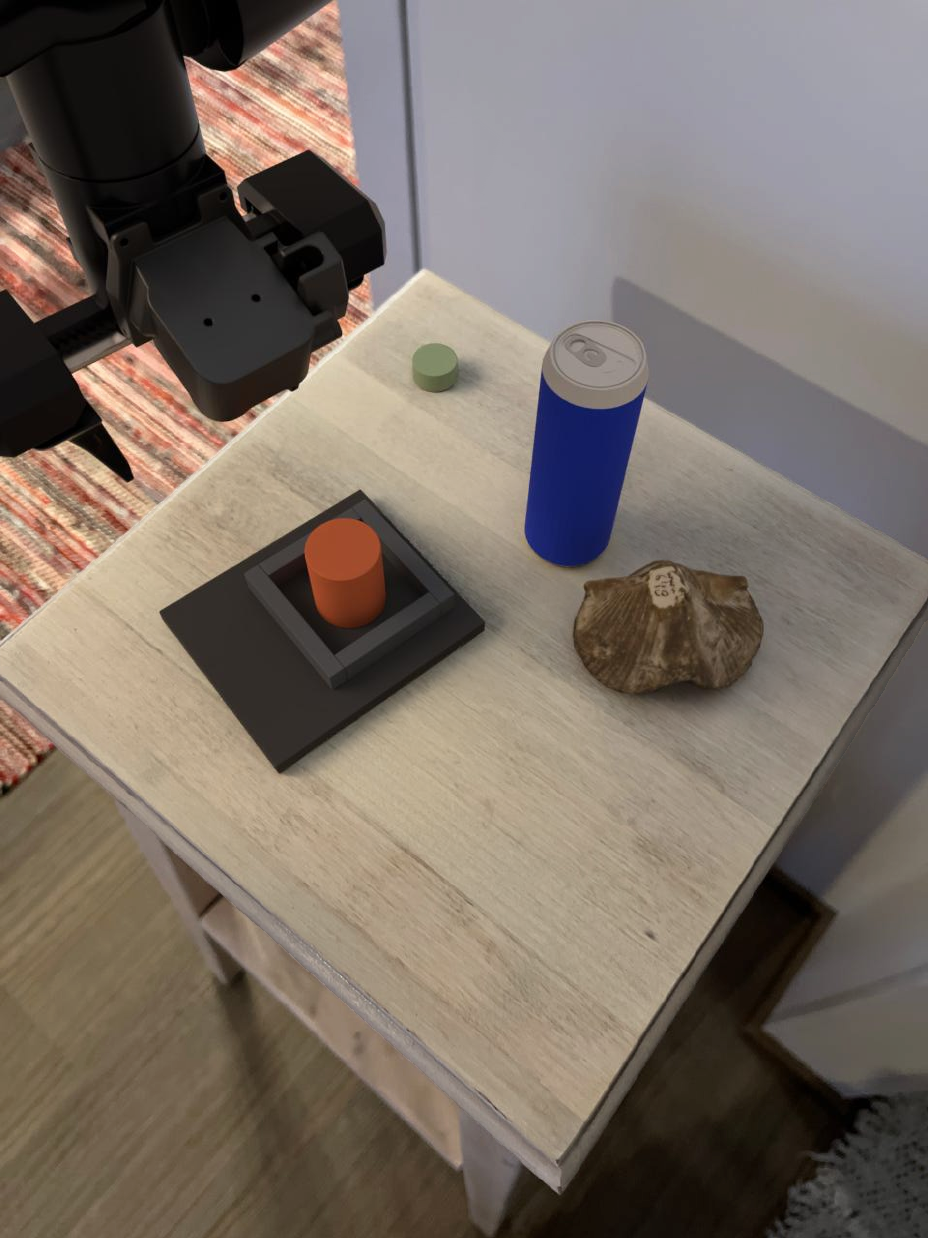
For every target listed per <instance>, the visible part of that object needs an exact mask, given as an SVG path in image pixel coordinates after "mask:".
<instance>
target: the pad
mask: <svg viewBox="0 0 928 1238" xmlns="http://www.w3.org/2000/svg"><path fill="white" fill-rule="evenodd" d="M458 360H459V359H458V355H457V353H456V352H455V350H454V349H453V348H451V347H450V346H448V345H446V344H443V343H438V342H437V343H436V342H432V343H427V344H424V345H421V346H420V347H418V348H417V349H416V350H415V352H414V353H413V354H412V358H411V363H412V364H411V365H412V366H411V367H412V378H413V381H414V383H415V385H416V386H417V387H419V388H421V389H422V390H425V391H426V392H432V393H435V392H436V393H438V392H439V393H440V392H443V391H446V390H448V389H450V388H451V387H453V386H454V385H455V384H456V382H457V380H458V375H459V374H458V372H459V371H458V368H459V366H458V365H459V361H458Z"/></svg>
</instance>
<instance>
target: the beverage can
mask: <svg viewBox="0 0 928 1238" xmlns="http://www.w3.org/2000/svg"><path fill="white" fill-rule="evenodd" d="M544 353H545V354H544V356H543V357H542V363H541V369H540V370H541V372H540V379H539V380H540V381H539V390H538V397H537V398H538V399H537V407H536V408H537V409H536V418H535V427H534V435H533V443H532V445H533V446H532V454H531V463H530V472H529V480H528V481H529V482H528V490H527V500H526V507H525V518H524V529H523V530H524V537H525V540H526V542H527V544H528V546H529V548H530V549H531V550H532V551H533V552H534V553H535V554H536V555H537V556H538V557H539V558H541V559H543V560H544V561H546V562H548V563H550V564H552V565H556V566H560V567H578V566H579V567H580V566H583V565H587V564H589V563H591V562H593V561H594V560H597V559H598V558H599V557H601V555H603V553H604V552H605V551H606V549H607V547H608V546H609V543H610V541H611V536H612V531H613V527H614V523H615V520H616V516H617V511H618V507H619V503H620V499H621V494H622V490H623V487H624V483H625V478H626V474H627V469H628V466H629V462H630V458H631V453H632V449H633V445H634V440H635V435H636V432H637V428H638V424H639V420H640V416H641V412H642V407H643V403H644V399H645V396H646V390H647V388H648V387H647V386H648V382H649V378H650V377H649V376H650V369H649V362H648V357H647V353H646V348H645V345H644V344H643V342H642V340H641V339H640V338H639V337H638V336H637V334H635V333H634V332H633V330H630V329H629V328H627V327H625V326H624V325H621V324H618V323H617V322H614V321H609V320H602V319H589V320H582V321H578V322H575V323H572V324H570V325H568V326H566V327H565V328H563V329H562V330H560V331H559V332H558V333H557V334H556V335H555V337H554V338H553V340H552V341H551V343H550V344H549V346H548V348H547V349H546V352H544Z"/></svg>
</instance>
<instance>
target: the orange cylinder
mask: <svg viewBox="0 0 928 1238" xmlns="http://www.w3.org/2000/svg"><path fill="white" fill-rule="evenodd" d="M305 558H306V563H307V567H308V572H309V576H310V581H311V585H312V589H313V594H314V598H315V603H316V607H317V610H318V612H319V613H320V615H321V616H322V617H323V618H324V619H325V620H326V621H327V622H329V623H330V624H332V625H335V626H337V627H341V628H357V627H361V626H364V625H366V624H368V623H370V622H372V621H373V620H374V619H376V618H377V617H378V616H379V614H380V613H381V612H382V610H383V608H384V606H385V602H386V590H385V581H384V571H383V562H382V553H381V544H380V540H379V537H378V536H377V534H376V532H375V531H374V530H373V529H372V528H371V527H370V526H368V525H367V524H365V523H363V522H361V521H359V520H355V519H349V518H340V519H334V520H331V521H328V522H325V523H324V524H322V525H320V526H319V527H317V528H316V529H315V530H314V531H313V532H312V533H311V535H310V536H309V538H308V540H307V542H306V545H305Z"/></svg>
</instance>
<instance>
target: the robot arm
mask: <svg viewBox="0 0 928 1238" xmlns="http://www.w3.org/2000/svg"><path fill="white" fill-rule="evenodd" d="M333 1H334V0H0V79H3V78H6V80H7V83H8V85H9V88H10V90H11V93H12V95H13V98H14V100H15V103H16V106H17V108H18V110H19V113H20V116H21V118H22V120H23V124H24V126H25V128H26V130H27V134H28V136H29V138H30V141H31V142H29V143H27V146H28V148H29V151H30V154H31V156H32V159H33V161H34V163H35V166H36V169H37V170H38V171H39V172H40V173H41V175H43V176H44V178H45V179H46V182H47V184H48V187H49V189H50V192H51V195H52V197H53V199H54V202H55V204H56V207H57V209H58V213H59V214H60V217H61V219H62V222H63V224H64V227H65V230H66V232H67V234H68V237H66V238H65V240H66V243H67V246H68V248H69V252H70V253H71V256H72V259H73V260H74V261H75V262H76V263H77V264H78V266H79V267H80V268H81V269H82V272H83V275H84V278H85V280H86V282H87V285H88V288H89V290H90V293H91V295H89V296H87V297H85V298H83V299H81V300H78V301H77V302H75V303H73V304H70V305H68V306H66V307H64V308H62V309H60V310H58V311H56V312H54V313H52V314H50V315H48V316H45V317H43V318H40V319H39V320H37V321H35V322H34V321H33V320H32V318H31V317H30V316H29V314H27V312H26V311H25V310H24V309H23V308H22V306H21V305H20V303H19V302H18V301H17V300H16V299H15V298H14V296H13V295H12V294H11V293H10V291H9V290H8V289H7V288H5V289H2V290H0V457H2V458H11V459H13V458H14V459H15V458H17V457H19V456H21V455H23V454H25V453H27V452H28V451H30V450H33V451H36V452H46V451H47V452H48V451H49V450H52V449H53V448H55V447H58V446H60V445H61V444H63V443H65V442H68V443H70V444H73V445H75V446H77V447H78V448H80V449H82V450H84V451H85V452H87V453H88V454H90V455H91V456H92V457H93V458H95V459H96V460H98V462H100V463H101V464H103V466H105V467H106V468H108V470H110V471H111V472H112V473H114V474H115V475H116V476H117V477H119V478H120V479H121V480H123V482H125V483H126V484H128V483H130V482H132V481H134V480H135V476H134V473H133V471H132V467H131V464H130V462H129V461H128V459H127V458H126V456H125V454H124V453H123V452H122V451H121V449H120V448H119V446H118V444H117V443H116V442H115V440H114V439H113V437H112V436H111V434H110V433H109V431H108V429H107V428H106V426H105V425H104V424H103V419H102V417H101V416H100V414H99V413H98V412H97V411H96V409H95V408H94V407H93V406H92V405H91V403H90V402H89V400H88V399H86V397H85V396H84V394H83V392H82V390H81V388H80V385H79V383H78V382H77V380H76V379H75V377H74V375H73V374H74V373H76V372H77V373H78V371H81V370H82V369H85V368H86V367H89V366H91V365H92V364H95V363H97V362H98V361H101V360H103V359H104V358H106V357H108V356H110V355H112V354H115V353H116V352H119V351H121V350H123V349H124V348H127V347H128V346H130V345H133V346H134V347H135V348H140V347H141V346H143V345H145V344H147V343H150V342H151V341H152V342H153V344H154V347H155V348H156V350H157V351H158V352H159V355H161V357H162V358H163V360H164V362H165V363H166V364H167V365H168V367H169V368H170V370H171V372H173V374H174V376H175V377H176V378H177V379H178V381H179V383H180V384H181V385H182V386H183V388H184V389H185V391H186V392H187V393H188V395H189V396H190V399H191V400H192V403H193V404H194V406H195V407H196V408H197V409H198V411H199V412H200V413H201V414H202V415H203V416H204V417H206V418H207V419H209V420H211V421H214V422H217V423H218V422H219V423H229V422H232V421H235V420H236V419H239V418H240V417H242V416H245V415H246V414H247V412H249V411H250V410H251V409H252V408H255V407H257V406H259V405H261V404H262V403H264V402H265V401H267V400H269V399H271V398H272V397H275V396H276V395H278V394H280V393H282V392H283V391H286V390H288V392H290V393H292V392H293V393H294V392H295V391H296V390H298V389H299V387H300V384H301V383H302V382H303V381H304V380H305V379H306V378H307V376H308V374H309V370H310V364H311V358H312V354H313V353H315V352H317V351H318V350H320V349H322V348H324V347H326V346H327V345H329V344H331V343H333V342H335V341H337V340H338V339H340V338H342V337H343V334H344V333H343V329H342V326H341V324H340V322H339V320H341V319H342V318H344V317H346V314H347V310H348V305H349V300H350V292H352V291H354V290H356V289H358V288H359V287H360V286H362V284H363V283H364V280H365V276H366V275H367V274H369V273H372V272H374V271H375V270H377V269H380V268H381V267H383V266H385V264H386V258H387V254H388V250H387V235H386V233H387V232H386V221H385V220H384V217H383V216H382V213H381V211H380V209H379V207H378V205H377V203H376V202H375V201H374V200H373V199H371V197H369V196H368V195H367V194H366V193H365V192H363V191H362V190H361V189H360V188H358V186H357V185H355V184H354V183H353V182H352V181H351V180H349V179H348V178H347V177H346V176H345V175H344V174H342V172H341V171H339V170H338V169H337V168H336V167H334V165H332V164H331V163H330V162H329V161H327V160H326V159H325V158H324V157H322V156H320V155H319V154H317V153H316V152H314V151H312V150H311V149H309V148H307V150H304V151H302V152H300V153H298V154H295V155H293V156H291V157H289V158H286V159H285V160H282V161H280V162H278V163H276V164H274V165H272V166H269V167H267V168H265V169H262V170H261V171H258V172H257V173H254V174H252V175H250V176H248V177H246V178H244V179H242V181H241V182H240V183H239V184H238V185H237V186H236V190H237V195H238V199H239V204H240V208H241V210H243V211H244V212H245V213H246V214H243V215H242V213H241V212H240V211H239V210H238V207H237V205H236V202H235V197H234V193H233V190H232V188H231V186H230V185H228V180H227V176H226V171H225V170H224V169H223V168H222V167H221V166H220V165H219V164H218V163H217V162H216V161H215V160H214V159H213V158H211V157H210V155H208V153H207V151H206V145H205V142H204V141H205V140H204V138H203V137H204V136H203V133H202V128H201V123H200V120H199V116H198V113H197V109H196V104H195V99H194V95H193V92H192V87H191V82H190V79H189V74H188V69H187V65H186V61H185V57H187V58H190V59H192V60H193V61H195V62H196V63H198V64H199V65H200V66H201V67H204V68H206V69H209V70H211V71H217V72H223V73H226V72H227V73H228V72H232V71H236V70H238V69H239V68H241V67H242V66H243V65H245V64H246V63H247V62H249V61H250V60H252V59H253V58H254V57H256V56H257V55H259V54H261V53H262V52H263V51H265V50H266V49H268V48H269V47H270V46H271V45H273V44H274V43H276V42H277V41H278V40H280V39H281V38H283V37H284V36H285V35H286V34H288V33H289V32H291V31H293V30H294V29H295V28H297V27H298V26H299V25H301V24H302V23H304V22H305V21H306V20H308V19H310V18H311V17H312V16H314V15H315V14H317V12H319V11H320V10H322V9H324V8H325V7H326V6H327V5H329V4H330V3H332V2H333Z"/></svg>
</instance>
